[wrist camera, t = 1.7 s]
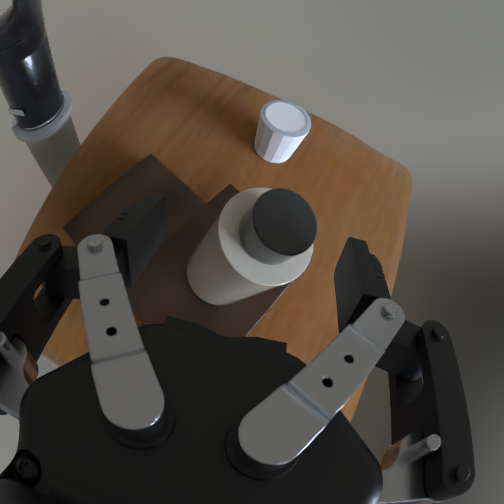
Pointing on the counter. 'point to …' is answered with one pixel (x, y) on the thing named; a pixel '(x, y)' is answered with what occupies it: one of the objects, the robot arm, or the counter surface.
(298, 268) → the white bottle
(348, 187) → the counter surface
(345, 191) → the counter surface
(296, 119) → the white short tapered cylinder
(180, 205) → the stepped wooden block
